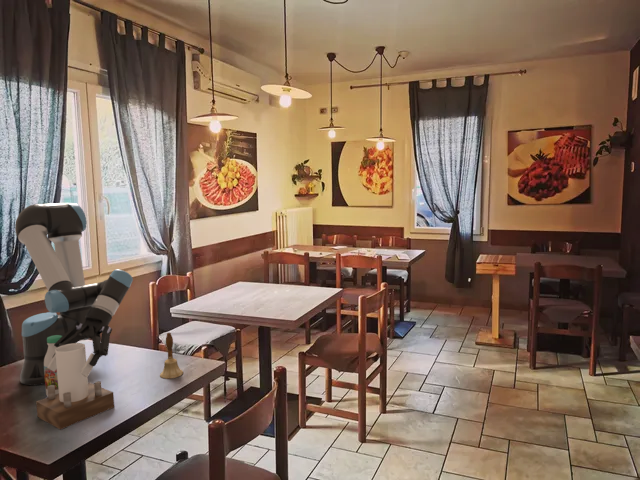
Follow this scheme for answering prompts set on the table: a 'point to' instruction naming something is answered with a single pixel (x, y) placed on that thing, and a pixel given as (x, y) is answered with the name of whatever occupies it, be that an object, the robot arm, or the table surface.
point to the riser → (73, 406)
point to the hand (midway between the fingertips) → (66, 372)
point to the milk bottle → (49, 374)
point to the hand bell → (170, 362)
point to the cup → (71, 371)
